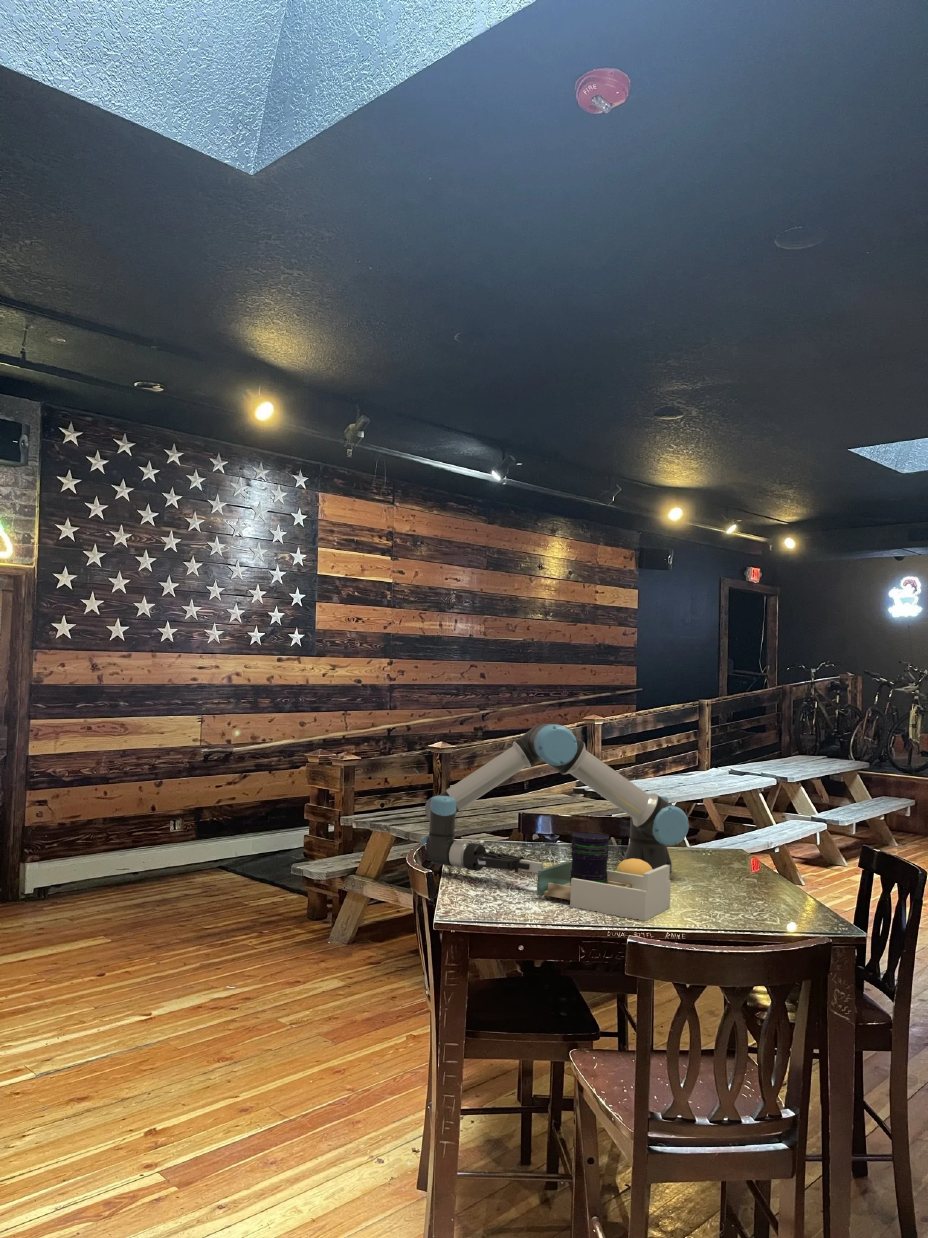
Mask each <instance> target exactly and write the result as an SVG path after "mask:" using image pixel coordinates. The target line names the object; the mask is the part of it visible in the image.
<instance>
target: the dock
mask: <svg viewBox="0 0 928 1238" xmlns="http://www.w3.org/2000/svg"><path fill="white" fill-rule="evenodd" d="M670 873H671V872H670V865H663V866H661V867H658V868H656V869H653V870H651V871H648V872H646V873H643V876H641V875H635V874H629V873H623V872H617V871H615V870H611V869H607V874H608V877H607V880H608V881H613V882H618V883H624V884H630V885H632V888H628V887H622V886H616V885H611V884H605V883H599V882H593V881H588V880H582V879H576V878H572V879H571V896H570V900H569V901H570V903H569V907H570V908H574V907H576V908H575V909H579V908H582V909H581V910H585V911H590V910H591V911H590V912H595V911H597V912H596V913H599V914H600V913H601V914H607V915H610V914H612V915H611V916H615V915H616V917H621V916H622V917H621V918H627V919H631V918H632V919H631V920H636V919H639V920H638V921H641V920H642V921H641V922H646V921H648V920H650V919H651V918H653V916H654V917H656V916H657V915H659V914H661V913H664V912H665V911H667V910H669V909H671V887H672V886H671V885H672V880H671V879H670ZM649 918H650V919H649ZM647 919H648V920H647Z"/></svg>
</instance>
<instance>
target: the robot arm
mask: <svg viewBox="0 0 928 1238" xmlns="http://www.w3.org/2000/svg"><path fill="white" fill-rule="evenodd" d="M541 762H544V763H545V764H547V765H548V766H550V767H551V768H553V769H554V770H555V771H557V772H558V773H560V774H561V775H568V774H570V775H571V776H572V777H574V778H575V779H577V780H578V781H580V782H581V783H582V784H584V785H585V786H587V787H588V788H590V789H591V790H592V791H594V792H596V793H597V794H598V795H600V796H601V797H602V798H604V799H605V800H607V801H608V802H609V803H611V804H613V805H614V806H615V807H616V808H618V809H620V810H621V811H622V812H624V814H627V815H628V816H629V817H630V819H629V821H630V825H629V842H628V843H629V844H628V847H627V849H626V851H625V855H624V858H623V861H624V860H627V859H632V858H633V859H640V860H643V861H645V862H647V863H648V864H649V865H650V866H651V867H652V869H656V868H658V867H661V866H663V865H670V873H671V872H673V864H672V860H671V856H670V852H669V849H668V846H675V845H678V844H680V843H681V842H682V841H684V839H685V838H686V836H687V834H688V832H689V829H690V824H689V818H688V816H687V815H686V812H685V811H683V809H681V808H680V807H678V806H676V805H672V804H671V803H669V799H668V797H667V796H660V795H658V794H657V793H655V792H652V793H647V792H645V790H643V789H641V788H640V787H639V786H637V785H636V784H634V783H633V782H631V780H629V779H627V778H625V777H624V775H622V774H620V773H619V772H617V771H616V770H615V769H613V768H612V767H611V766H609V765H608V764H606V763H604V762H603V761H602V760H600V759H599V758H598V757H596V756H595V755H594V754H593V753H590V752H589V751H588V750H587V749H586V744H585V742H584V741H583V740H581V739H579V738H578V737H577V736H575V735H574V733H573V732H572V731H571V730H570V729H569V727H567V726H564V725H561V724H557V723H547V722H545V723H540V724H537V725H536V726H535V725H534V726H533V727H532V728H531V729H530V730H528V731H526V732H525V733H524V734H523V735H522V736H520V737H519V738H517V739H516V740H514V741H513V742H512V746H511V747H510V748H508V749H507V750H505V751H504V752H502V753H500V754H499V755H497V756H496V757H495V758H492V760H490V761H488V762H487V763H485V764H484V765H482V766H480V767H479V768H478V769H476V770H474V771H473V772H472V773H470V774H468V775H467V776H465V777H463V779H461V780H460V781H458V782H457V783H455V784H453V785H452V786H450V787H448V788H447V789H446V790H445V791H443V792H441V793H440V794H439V795H435V796H432V797H430V798H429V799H428V800H427V802H426V803H425V806H424V813H425V816H426V817H427V819H428V820H429V829H428V831H429V832H428V835H426V836H424V837H422V839H421V842H420V845H419V848H421V847H420V846H421V845H422V844H425V843H427V844H425V845H424V846H425V849H426V850H427V851H428V855H429V857H430V859H431V860H432V862H431V864H434V865H442V866H447V867H454V868H457V869H458V870H459V871H460V870H462V869H465V870H470V871H473V872H474V871H475V872H479V871H481V870H482V869H483V868H486V869H487V868H489V869H496V870H505V871H506V870H507V871H514V873H519V871H522V872H527V873H529V872H530V873H534V874H538V870H541V869H544V863H543V862H540V861H533V860H528V859H525V858H524V856H523V855H521V856H516V855H512V854H508V853H505V852H503V851H500V852H495V851H492V850H488V852H487V850H486V848H485V846H484V845H483V844H481V843H477V842H476V843H475V842H470V841H466V840H457V839H455V833H456V832H455V829H456V828H455V827H456V814H457V813H459V812H460V811H461V810H463V809H464V808H466V807H468V806H469V805H470V804H471V803H473V802H475V801H476V800H478V799H479V798H481V797H482V796H485V794H487V793H488V792H490V791H491V790H494V788H496V787H497V786H499V785H501V784H502V783H504V782H506V780H509V778H512V776H514V775H516V774H518V773H520V772H521V771H522V770H523V769H524V768H528V769H531V768H532V767H534V766H536V765H538V764H539V763H541Z"/></svg>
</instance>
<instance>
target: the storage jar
mask: <svg viewBox="0 0 928 1238" xmlns="http://www.w3.org/2000/svg"><path fill="white" fill-rule="evenodd" d="M571 837H572V839H571V852H570V853H571V856H572V857H571V862H572V870H571V877H570V882H571V879H572V878H576V879H582V880H588V881H593V882H599V883H605V884H608V880H607V877H608V874H607V870H608V859H609V850H610V847H609V846H610V845H609V842H610V841H609V839H610V836H609V835H607V834H604V833H597V832H590V831H589V832H586V831H585V832H584V831H580V832H572V835H571ZM570 886H571V883H570Z"/></svg>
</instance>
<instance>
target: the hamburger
mask: <svg viewBox="0 0 928 1238" xmlns="http://www.w3.org/2000/svg"><path fill="white" fill-rule="evenodd" d="M651 870H653V869H652V867H651V866H650V865H649V864H648V863H647V862H645V861H643V860H640V859H633V858H632V859H627V860H624V859H623V860H622V861H621V862H619V863H618V865H617V867H616V869H615V870H614V871H617V872H623V873H629V874H635V875H641V876H643V873H646V872H648V871H651Z"/></svg>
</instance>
